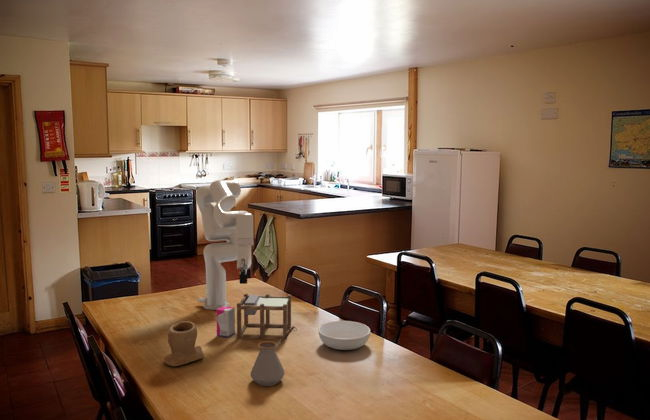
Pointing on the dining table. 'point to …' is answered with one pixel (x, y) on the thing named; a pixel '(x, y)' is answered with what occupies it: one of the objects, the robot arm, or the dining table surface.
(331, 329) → the serving bowl
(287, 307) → the stand
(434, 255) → the dining table surface
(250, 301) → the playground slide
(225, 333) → the supplement box
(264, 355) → the coffee pot
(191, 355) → the stone cup
